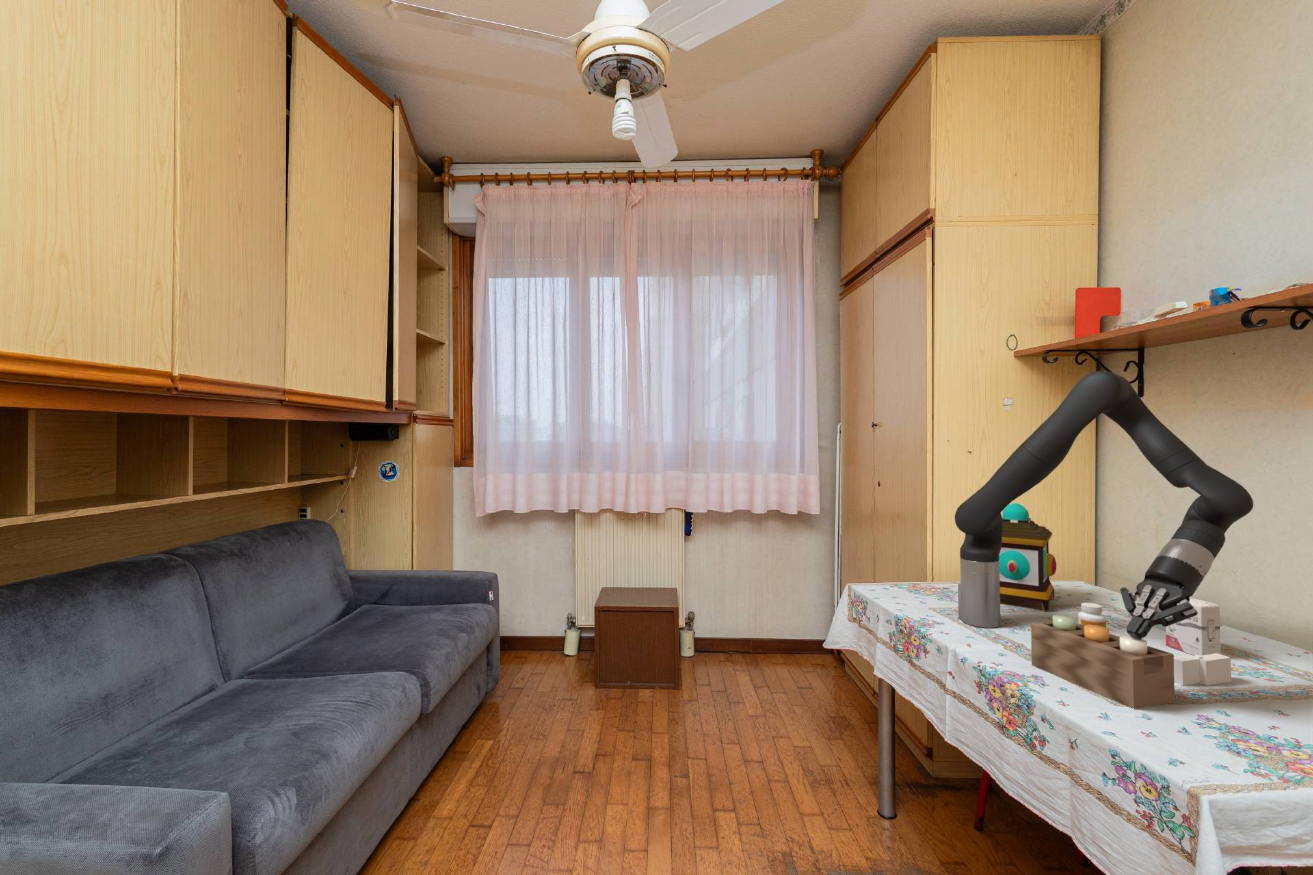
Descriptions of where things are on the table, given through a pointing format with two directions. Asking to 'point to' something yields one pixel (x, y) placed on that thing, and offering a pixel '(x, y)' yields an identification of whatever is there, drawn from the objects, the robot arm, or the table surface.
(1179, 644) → the ink box
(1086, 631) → the orange egg
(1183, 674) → the white stepped block
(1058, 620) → the sage egg
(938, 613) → the table surface
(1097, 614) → the supplement bottle
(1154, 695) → the wooden egg holder
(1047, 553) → the decorative lantern
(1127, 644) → the cream egg
